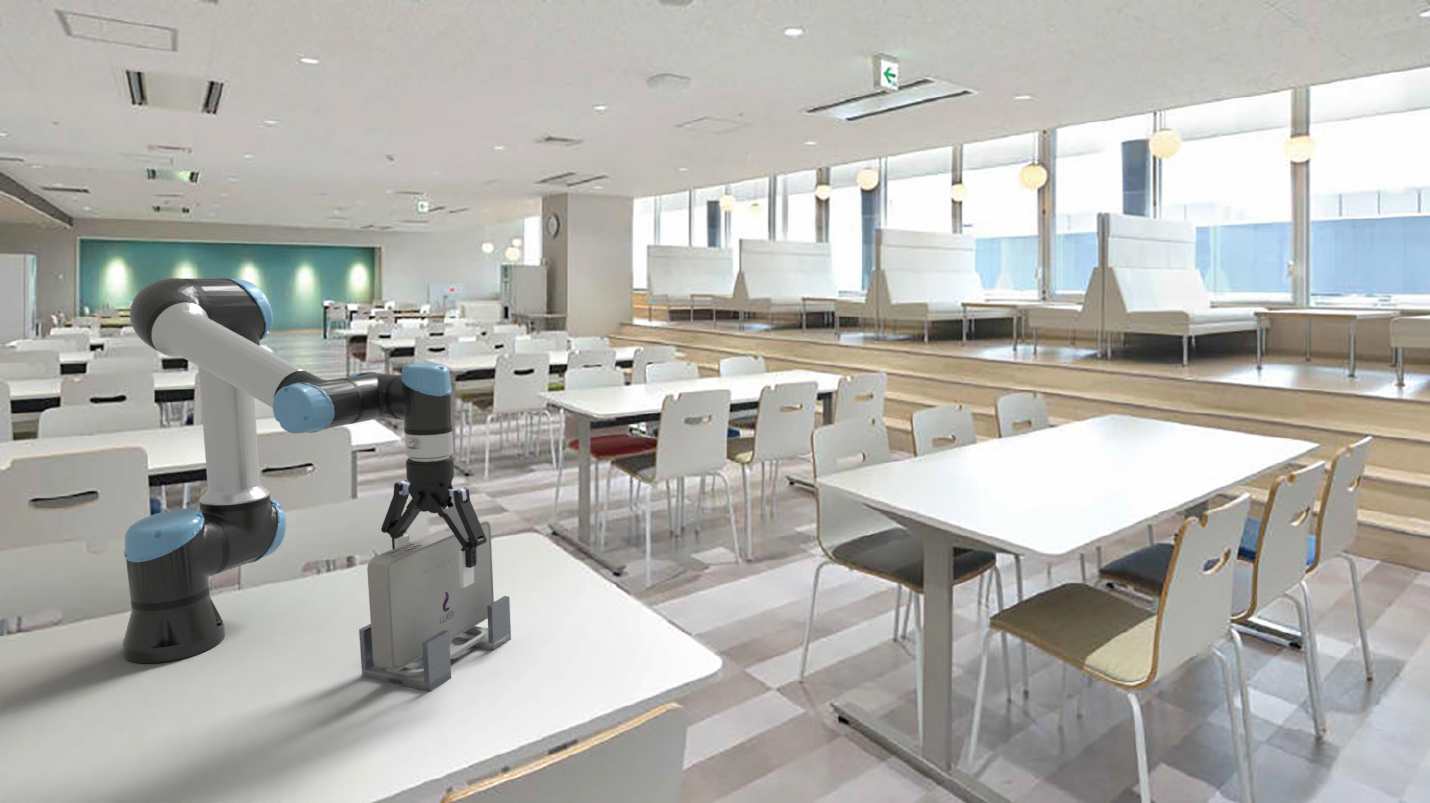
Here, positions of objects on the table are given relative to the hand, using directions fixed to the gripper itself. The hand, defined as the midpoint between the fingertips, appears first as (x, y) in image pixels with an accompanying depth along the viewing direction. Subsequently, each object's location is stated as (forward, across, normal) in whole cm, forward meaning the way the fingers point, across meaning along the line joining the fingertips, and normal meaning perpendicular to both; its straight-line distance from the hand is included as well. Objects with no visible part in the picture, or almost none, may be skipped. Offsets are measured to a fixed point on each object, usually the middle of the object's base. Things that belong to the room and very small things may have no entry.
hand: (434, 579), depth 140 cm
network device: (+13, 0, 0) cm, 13 cm away
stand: (+14, 0, 0) cm, 14 cm away
